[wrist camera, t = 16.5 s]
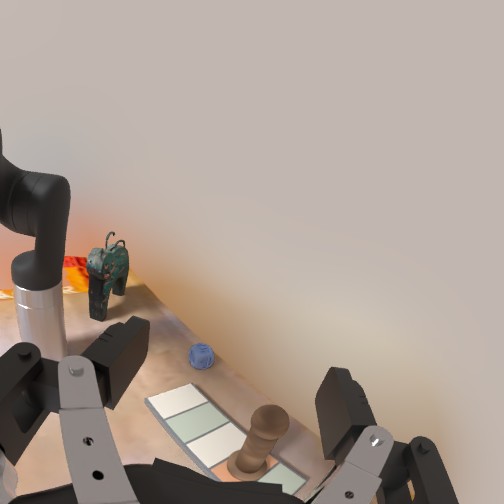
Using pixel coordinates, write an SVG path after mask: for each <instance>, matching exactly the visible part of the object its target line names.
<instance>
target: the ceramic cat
mask: <svg viewBox="0 0 504 504" xmlns="http://www.w3.org/2000/svg"><path fill="white" fill-rule="evenodd" d="M112 233H113V236H114V235H115V232H110V233H109V234H108V235H107V238H106V249H103V248H94V249H92V251H91V252H90V254H89V256H88V259H87V267H86V269H87V272H88V274H89V291H88V293H89V312H90V318H92V319H95V320H98V321H101V322H102V321H103V320H104V319H105V317H106V313H107V306H108V299H109V294H110V291H111V288H112V293H113V294H115V295H118V296H122V295H123V294H124V292H125V286H126V282H127V277H128V271H129V256H128V251H127V249H126V248H125V241H124V240H119V241H117V243H116V244H112V245H109V246H108V247H107V240H108V238H109V236H110V234H112ZM119 242H123V244H124V247H123V246H119V245H117V244H118V243H119Z"/></svg>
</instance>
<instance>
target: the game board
mask: <svg viewBox="0 0 504 504" xmlns="http://www.w3.org/2000/svg"><path fill="white" fill-rule="evenodd" d="M145 404H146V406H147V407H148V408H149V410H150V411H151V412H152V413H153V415H154V416H155V417H156V419H157V420H158V421H159V422H160V424H161V425H162V426H163V427H164V429H165V430H166V431H167V432H168V433H169V435H170V436H171V437H172V438H173V439H174V441H175V442H176V443H177V444H178V445H179V446H180V447H181V448H182V450H183V451H184V452H185V453H186V454H187V455H188V456H189V457H190V458H191V459H192V460H193V461H194V463H195V464H196V465H197V466H198V467H199V468H200V469H201V470H202V471H203V472H204V473H205V474H206V475H207V476H208V477H209V478H210V479H213V480H215V481H219V482H237V481H240V480H238V479H236V478H234V477H233V476H232V475H231V474H230V473H229V471H228V469H227V461H228V458H229V456H230V455H231V454H232V453H233V452H235V451H237V450H241V448H242V446H243V443H244V441H245V439H246V437H247V434H246V433H245V432H244V431H243V430H242V429H240V428H239V427H238V426H237V425H236V424H235V423H234V422H232V421H231V420H230V419H229V418H228V417H227V416H226V415H225V414H224V413H223V412H221V411H220V410H219V409H218V408H217V407H216V406H215V405H214V404H213V403H212V402H211V401H210V400H209V399H208V398H207V397H206V396H205V395H204V394H203V393H202V392H201V391H200V390H199V389H198V388H197V387H196V386H195V385H194V384H193V383H190V384H187V385H184V386H181V387H179V388H176V389H173V390H170V391H167V392H164V393H161V394H158V395H154V396H151V397H148V398H145ZM265 460H266V462H267V470H266V472H265V474H264V475H263V476H262V477H261V478H260V479H259V480H257V481H258V482H266V483H276V484H282V488H283V492H285V493H288V494H290V495H294V494H295V493H296V492H297V491H298V490H299V489H300V488H301V487H302V486H303V485H304V484H305V483H306V482H307V481H308V480H307V479H306V478H304V477H303V476H301V475H300V474H298V473H297V472H296V471H294V470H293V469H291V468H290V467H288V466H287V465H286V464H284V463H283V462H282V461H280V460H279V459H278V458H276V457H275V456H274V455H272V454H271V453H269V455H268V456H267V458H266V459H265Z"/></svg>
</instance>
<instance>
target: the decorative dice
mask: <svg viewBox="0 0 504 504" xmlns="http://www.w3.org/2000/svg"><path fill="white" fill-rule="evenodd" d="M189 360H190V363H191V365H192V366H193V367H195V368H197V369H207V368H209V367H210V366H211V365H212V364H213V362H214V353H213V350H212V348H211V347H210V346H208V345H206V344H202V343H198V344H195V345H193V346H192V347H191V348H190V350H189Z"/></svg>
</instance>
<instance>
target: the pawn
mask: <svg viewBox="0 0 504 504" xmlns="http://www.w3.org/2000/svg"><path fill="white" fill-rule="evenodd" d="M288 427H289V417H288V414H287V413H286V411H285V410H284V409H282V408H281V407H279V406H276V405H265V406H262V407H260V408H258V409H257V410H256V411H255V412H254V413H253V415H252V418H251V428H250V430H249V433H248V435H247V437H246V439H245V441H244V443H243V446H242V448H241V450H237V451H235V452H233V453H232V454H231V455H230V456H229V458H228V461H227V469H228V471H229V473H230V474H231V475H232V476H233V477H234V478H236V479H238V480H240V481H257V480H259V479H260V478H261V477H262V476H263V475H264V474H265V472H266V470H267V462H266V460H265V459H266V458H267V456H268V455H269V453H270V451H271V450H272V448H273V447H274V445H275V443H276V442H277V440H278V438H279V437H281V436H282V435H283V434H285V432H286V431H287V429H288Z"/></svg>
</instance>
